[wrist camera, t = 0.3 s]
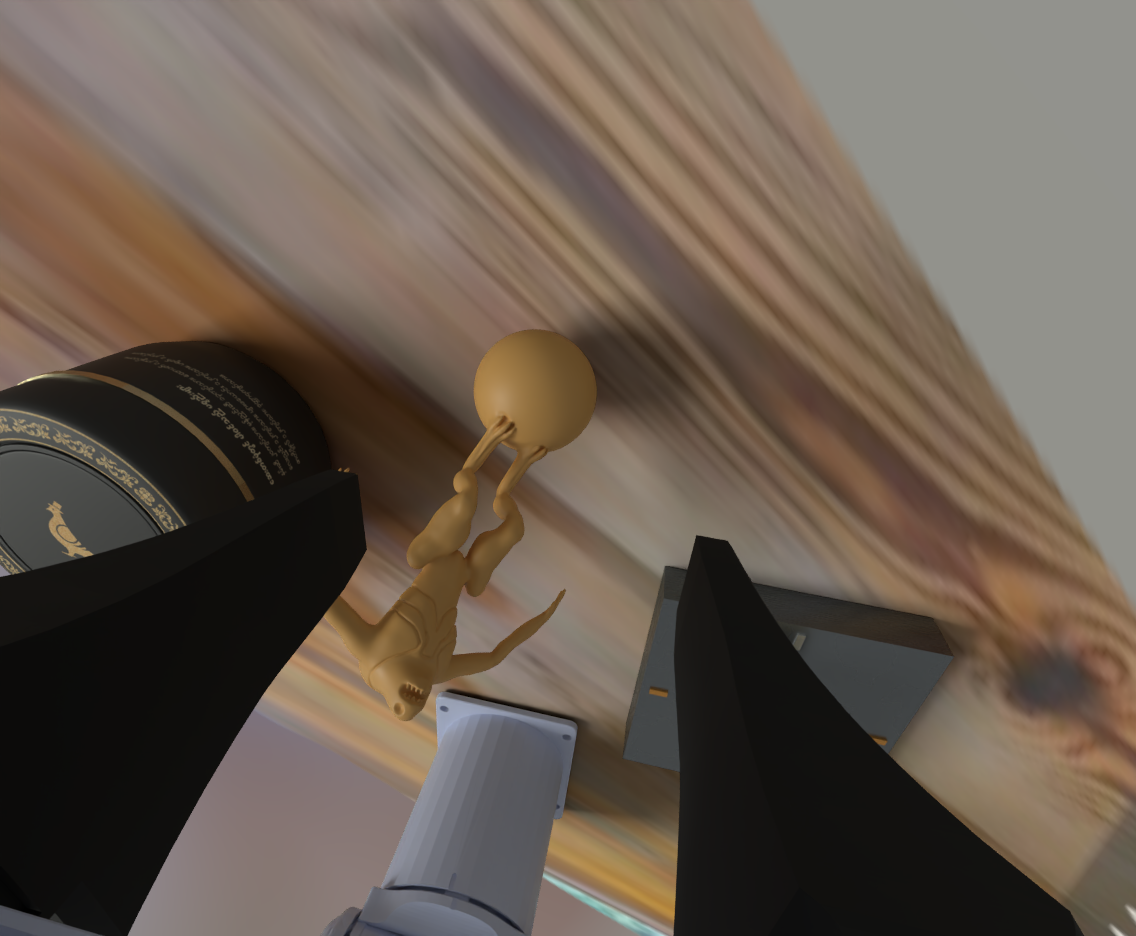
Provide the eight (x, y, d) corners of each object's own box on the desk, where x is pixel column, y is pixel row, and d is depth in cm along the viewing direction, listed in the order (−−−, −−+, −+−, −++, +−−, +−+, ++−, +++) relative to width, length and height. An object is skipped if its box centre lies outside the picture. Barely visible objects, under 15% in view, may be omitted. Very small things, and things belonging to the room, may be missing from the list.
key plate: (838, 771, 28) (849, 813, 26) (626, 722, 29) (622, 760, 27) (932, 618, 22) (955, 658, 20) (665, 566, 23) (663, 600, 21)
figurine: (663, 398, 20) (624, 767, 13) (548, 444, 24) (473, 749, 17) (495, 228, 15) (310, 669, 9) (385, 320, 19) (201, 673, 13)
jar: (260, 557, 28) (130, 678, 21) (97, 401, 25) (-114, 487, 18) (390, 476, 24) (279, 596, 17) (215, 276, 21) (-2, 330, 14)
